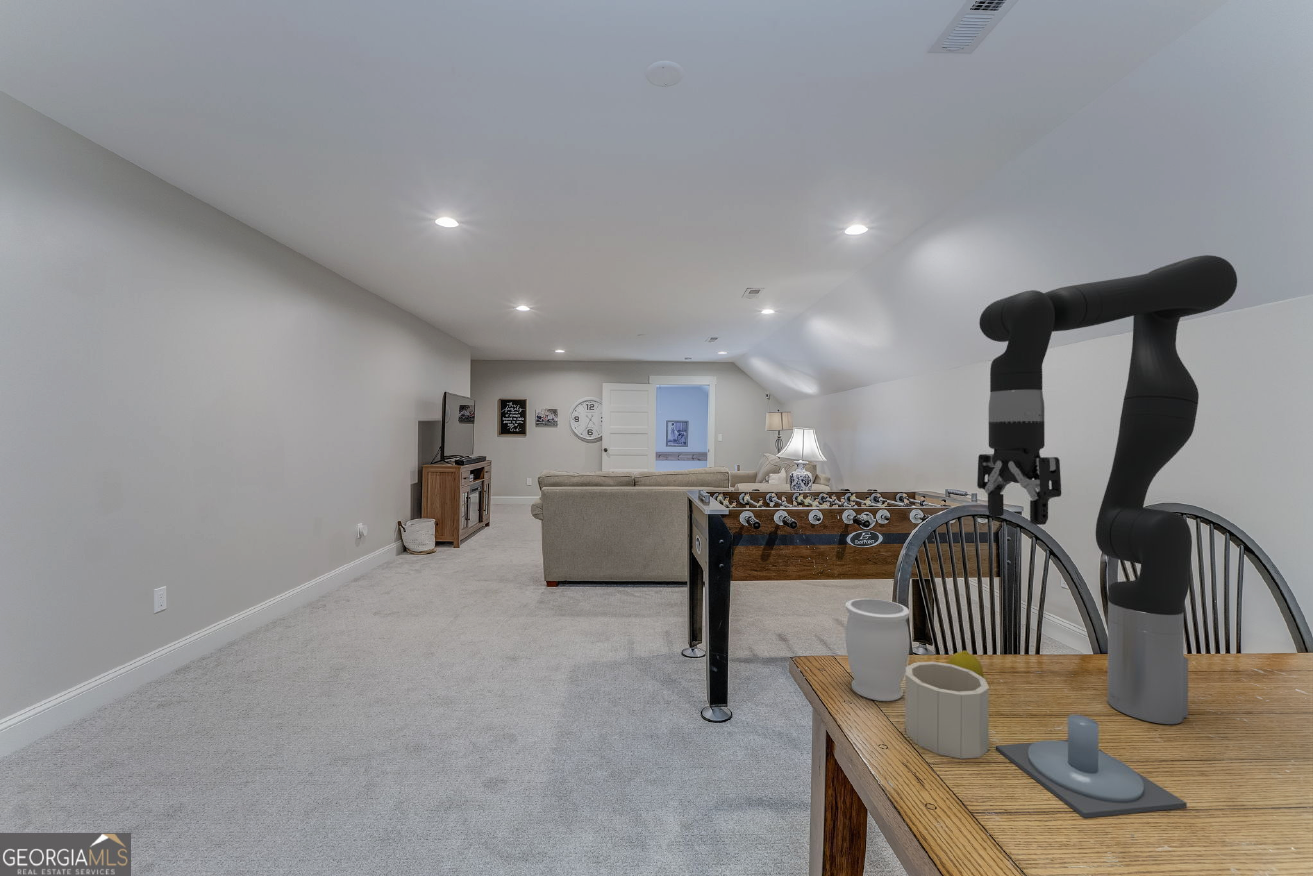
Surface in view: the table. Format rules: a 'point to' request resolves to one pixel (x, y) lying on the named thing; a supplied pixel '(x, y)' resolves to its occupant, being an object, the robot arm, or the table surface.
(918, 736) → the crock
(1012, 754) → the mat
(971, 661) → the lemon
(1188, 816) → the table surface
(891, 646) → the jar
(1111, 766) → the lid
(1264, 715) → the table surface
